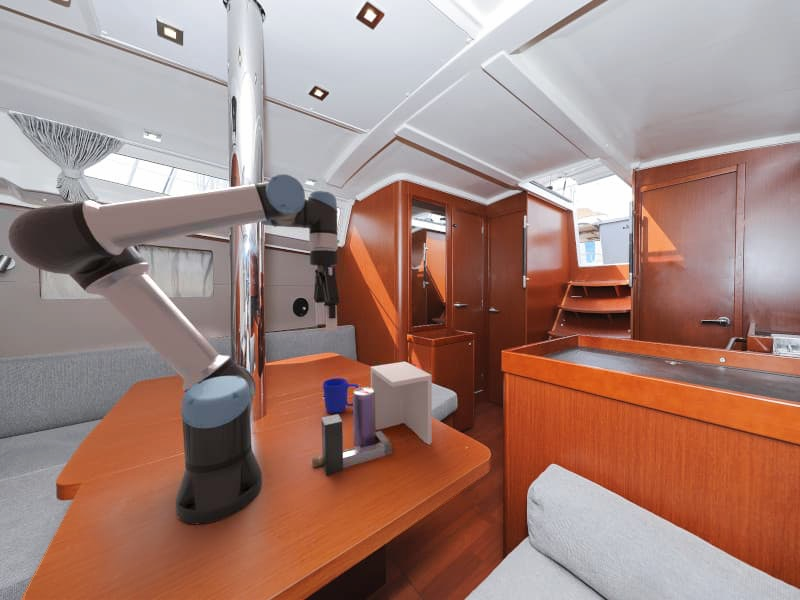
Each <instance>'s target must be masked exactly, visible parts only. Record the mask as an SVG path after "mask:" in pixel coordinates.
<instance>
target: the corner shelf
mask: <svg viewBox="0 0 800 600" xmlns="http://www.w3.org/2000/svg"><path fill="white" fill-rule="evenodd" d="M432 380H433V377H432V374H431V373H428V372H426V371H425V370H423V369H421V368H418V366H416V365H415V366H414V365H413V364H411V363H409V362H407V361H400V362H394V363H387V364H380V365H379V364H378V365H373V366H370V388H372V389H374V393H375V429H376V431H380V430H383V429H387V428H391V427H394V426H399V425H402V424H404V425H405V426H407V428H409V429H410V428H411V429H412V430H413V431H414V432H415V433H416V434H417V435H418V436H417V435H416V434H415V433H414V432H413V431H412V430H411V429H410V430H411V431H412V432H413V433H414V434H415V435H416V436H417V437H419V438H420V439H421V441H423V442H424V443H425V444H426V443H427V444H428V445H427V444H426V445H427V446H430V445H432V444H431V443H433V442H432V441H433V439H432V434H433V432H432V430H433V428H432V425H433V424H432V420H433V418H432V417H433V413H432V411H433V410H432V409H433V408H432V405H433V404H432V403H433V400H432V399H433V398H432V397H433V395H432V393H433V391H432V388H433V387H432V385H433V384H432ZM401 423H402V424H401ZM429 444H430V445H429Z"/></svg>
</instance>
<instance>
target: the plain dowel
mask: <svg viewBox="0 0 800 600" xmlns="http://www.w3.org/2000/svg"><path fill="white" fill-rule="evenodd" d="M359 448H361V447H360V446H357V447H355V446H354V447H351V448H347V449H343V453H344V452H348V451H352V450H356V449H359ZM311 463H312V464H311V465H312V468H316V467H319V466H323V455H319V456H315V457H312V458H311Z"/></svg>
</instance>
